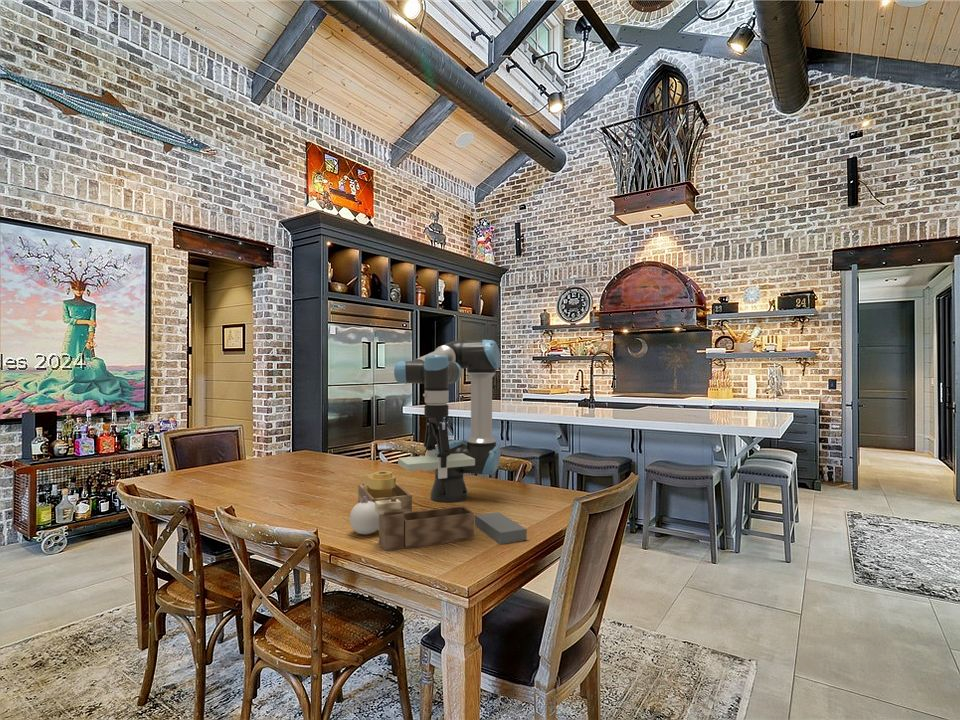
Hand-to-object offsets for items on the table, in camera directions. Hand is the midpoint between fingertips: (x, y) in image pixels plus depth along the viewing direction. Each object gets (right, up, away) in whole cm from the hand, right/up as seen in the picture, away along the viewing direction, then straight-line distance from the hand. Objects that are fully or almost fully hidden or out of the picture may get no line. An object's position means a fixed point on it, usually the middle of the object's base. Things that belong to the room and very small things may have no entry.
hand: (436, 474), depth 160 cm
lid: (0, +3, 0) cm, 3 cm away
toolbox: (-3, -20, -2) cm, 20 cm away
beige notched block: (-14, -10, -6) cm, 18 cm away
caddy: (-21, -20, +26) cm, 40 cm away
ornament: (-23, -20, +5) cm, 31 cm away
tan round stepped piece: (-23, -21, +27) cm, 41 cm away
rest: (+20, -20, +6) cm, 29 cm away
